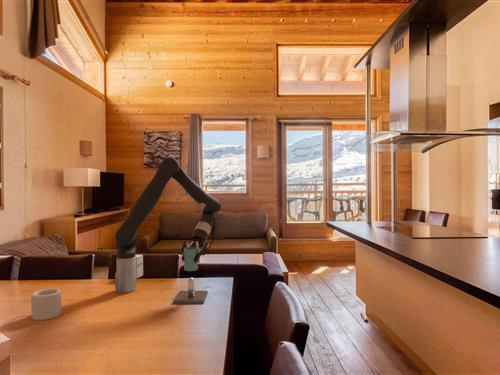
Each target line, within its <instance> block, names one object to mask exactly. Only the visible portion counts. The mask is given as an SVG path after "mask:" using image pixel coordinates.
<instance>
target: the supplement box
mask: <svg viewBox="0 0 500 375" xmlns="http://www.w3.org/2000/svg"><path fill="white" fill-rule="evenodd" d="M143 276H144V254H136V280H137V279H138V278H141V277H143Z"/></svg>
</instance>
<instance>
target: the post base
mask: <svg viewBox="0 0 500 375" xmlns="http://www.w3.org/2000/svg"><path fill="white" fill-rule="evenodd" d="M208 294H209V291H208V290H195V279H194V278H193V277H189V278H188V279H187V290H179V291H178V293H177V294H176V296H175V297H174V299H173V300H172V302H173V304H175V305H177V304H182V305H184V304H185V305H186V304H189V305H190V304H205V302H206V299H207V297H208ZM173 304H172V305H173Z"/></svg>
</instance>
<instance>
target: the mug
mask: <svg viewBox="0 0 500 375" xmlns="http://www.w3.org/2000/svg"><path fill="white" fill-rule="evenodd" d="M30 296H31V297H30V299H31V300H30V301H31V303H30V304H31V305H30V307H31V319H32V320H34V321H46V320H52V319H54V318H57V317H58V316H59V317H60V315H61V314H62V311H63V310H62V290H61V289H60V288H45V289H40V290H37V291H34V292H32V294H31V295H30Z"/></svg>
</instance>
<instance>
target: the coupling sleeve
mask: <svg viewBox="0 0 500 375" xmlns="http://www.w3.org/2000/svg"><path fill="white" fill-rule="evenodd" d="M197 251H198V248H193V247H189V248H184V261H183V267H184V268H183V270H184V271H187V272H192V271H193V272H195V271H197V270H199V263H198V262H199V261H198V262H197V263H195V262H194V258H195V256H196V254H197Z"/></svg>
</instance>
